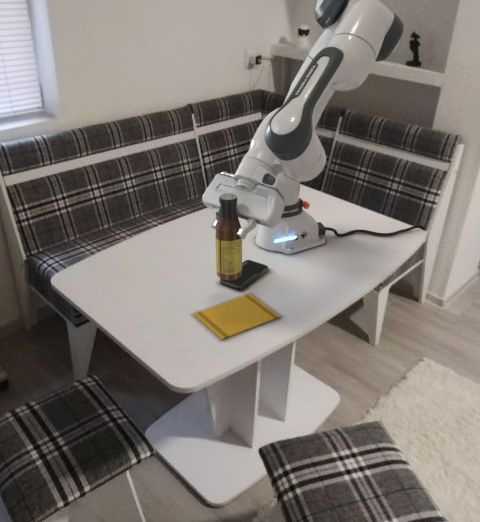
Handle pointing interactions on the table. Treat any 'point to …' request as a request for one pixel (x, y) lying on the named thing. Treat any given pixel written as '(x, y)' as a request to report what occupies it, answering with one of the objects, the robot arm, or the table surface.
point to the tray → (236, 316)
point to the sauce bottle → (228, 239)
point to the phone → (246, 275)
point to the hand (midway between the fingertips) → (227, 233)
